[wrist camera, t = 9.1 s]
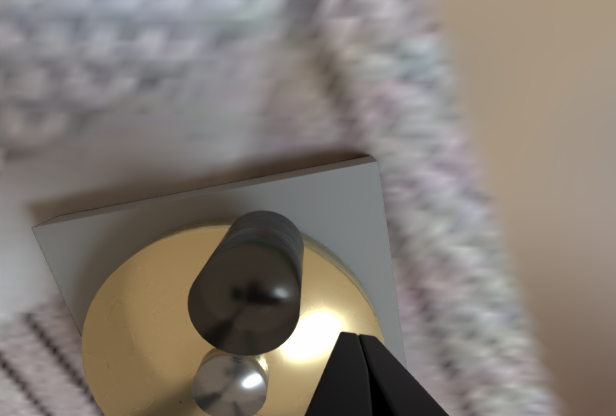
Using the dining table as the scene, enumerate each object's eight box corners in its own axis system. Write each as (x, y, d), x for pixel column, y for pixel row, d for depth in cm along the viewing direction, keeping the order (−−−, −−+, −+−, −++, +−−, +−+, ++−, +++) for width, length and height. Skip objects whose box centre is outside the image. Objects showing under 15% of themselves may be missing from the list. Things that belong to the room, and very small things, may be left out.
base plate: (157, 450, 21) (145, 476, 19) (56, 216, 16) (31, 227, 15) (409, 416, 20) (416, 441, 18) (371, 155, 15) (377, 161, 14)
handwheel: (427, 390, 17) (479, 522, 11) (209, 484, 19) (168, 632, 14) (286, 160, 14) (269, 197, 8) (43, 304, 16) (-94, 407, 10)
